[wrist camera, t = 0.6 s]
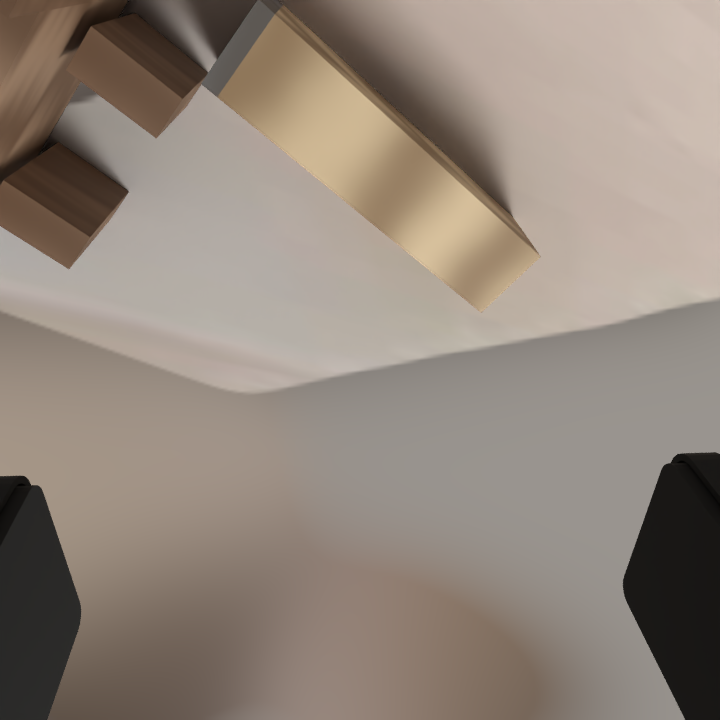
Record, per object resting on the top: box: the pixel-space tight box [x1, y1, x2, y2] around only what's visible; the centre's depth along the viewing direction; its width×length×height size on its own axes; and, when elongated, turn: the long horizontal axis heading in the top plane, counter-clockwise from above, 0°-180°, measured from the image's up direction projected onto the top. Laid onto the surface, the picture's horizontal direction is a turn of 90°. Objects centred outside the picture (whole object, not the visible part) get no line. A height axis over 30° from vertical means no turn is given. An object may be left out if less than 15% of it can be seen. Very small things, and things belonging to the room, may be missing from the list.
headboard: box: [0, 0, 208, 269], centre depth 26 cm, size 16×7×14 cm, turn 139°
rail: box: [201, 0, 541, 312], centre depth 31 cm, size 17×4×6 cm, turn 49°
